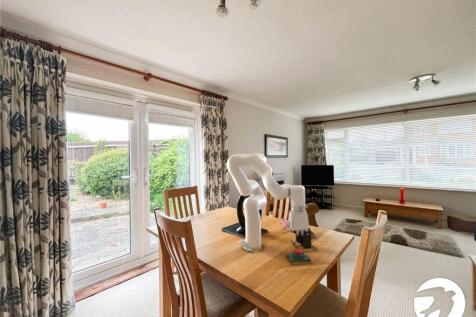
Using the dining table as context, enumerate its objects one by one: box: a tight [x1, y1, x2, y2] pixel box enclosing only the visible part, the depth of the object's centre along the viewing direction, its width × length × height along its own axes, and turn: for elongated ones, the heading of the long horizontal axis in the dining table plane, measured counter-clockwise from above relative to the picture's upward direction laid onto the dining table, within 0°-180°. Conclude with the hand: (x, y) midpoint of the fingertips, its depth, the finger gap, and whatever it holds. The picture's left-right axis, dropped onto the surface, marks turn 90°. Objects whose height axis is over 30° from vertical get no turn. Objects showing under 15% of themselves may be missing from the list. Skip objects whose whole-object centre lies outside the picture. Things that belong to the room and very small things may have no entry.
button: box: [294, 248, 303, 255], centre depth 109 cm, size 4×4×2 cm
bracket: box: [300, 230, 312, 250], centre depth 122 cm, size 10×8×12 cm
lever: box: [290, 236, 303, 246], centre depth 121 cm, size 12×5×2 cm
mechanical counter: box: [308, 227, 317, 239], centre depth 140 cm, size 7×13×10 cm
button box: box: [286, 249, 312, 263], centre depth 109 cm, size 10×8×4 cm
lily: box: [279, 217, 289, 230], centre depth 150 cm, size 12×12×10 cm
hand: (299, 242), depth 108 cm, fingers closed
